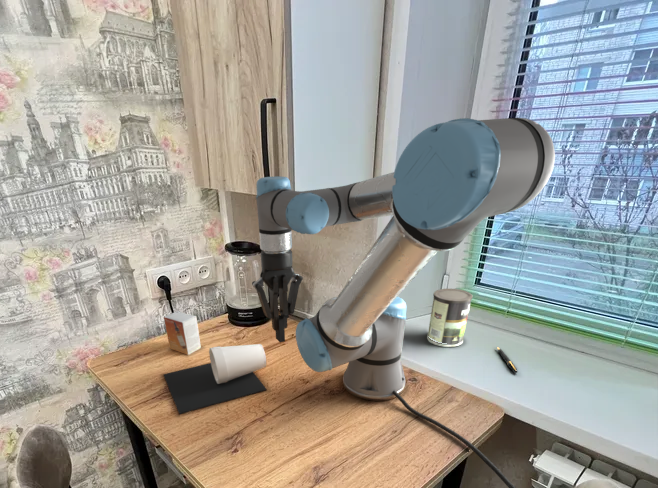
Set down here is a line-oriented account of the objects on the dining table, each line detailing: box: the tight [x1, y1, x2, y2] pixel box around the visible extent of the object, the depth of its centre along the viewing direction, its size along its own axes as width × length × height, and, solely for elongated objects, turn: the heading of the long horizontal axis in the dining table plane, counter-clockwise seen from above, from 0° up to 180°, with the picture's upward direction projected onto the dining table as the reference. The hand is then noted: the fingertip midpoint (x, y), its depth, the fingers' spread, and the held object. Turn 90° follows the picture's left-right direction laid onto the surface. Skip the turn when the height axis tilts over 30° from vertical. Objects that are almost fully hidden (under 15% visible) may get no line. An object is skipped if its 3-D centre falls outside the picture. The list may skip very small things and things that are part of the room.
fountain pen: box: [497, 347, 519, 374], centre depth 111 cm, size 14×1×2 cm, turn 175°
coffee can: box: [426, 288, 473, 348], centre depth 120 cm, size 10×10×14 cm
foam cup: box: [208, 343, 267, 384], centre depth 107 cm, size 10×9×13 cm
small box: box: [163, 310, 202, 356], centre depth 122 cm, size 8×6×10 cm
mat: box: [163, 362, 268, 415], centre depth 107 cm, size 20×22×1 cm
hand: (280, 339), depth 110 cm, fingers closed
